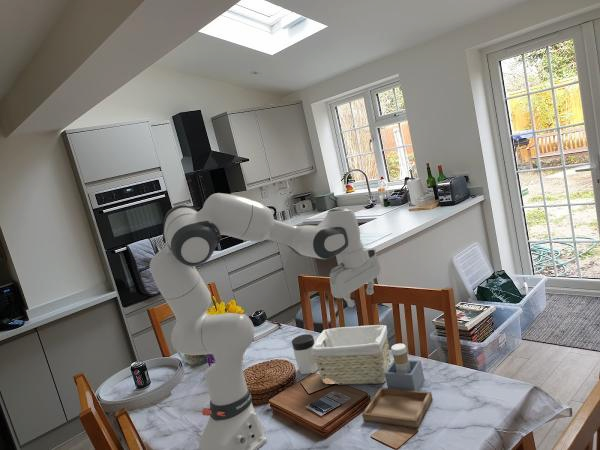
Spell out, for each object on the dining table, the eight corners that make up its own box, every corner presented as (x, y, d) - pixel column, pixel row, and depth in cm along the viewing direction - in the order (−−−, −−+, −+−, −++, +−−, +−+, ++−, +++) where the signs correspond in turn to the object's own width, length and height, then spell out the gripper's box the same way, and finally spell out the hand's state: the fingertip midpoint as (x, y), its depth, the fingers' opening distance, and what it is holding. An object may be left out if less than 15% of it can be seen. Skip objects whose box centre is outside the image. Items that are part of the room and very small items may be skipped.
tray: (417, 428, 124) (416, 420, 124) (363, 421, 133) (362, 414, 133) (432, 399, 136) (431, 392, 135) (382, 394, 145) (380, 387, 144)
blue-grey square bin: (415, 394, 140) (411, 375, 139) (388, 392, 145) (384, 373, 144) (424, 379, 147) (420, 360, 146) (398, 377, 152) (394, 359, 151)
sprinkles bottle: (405, 380, 149) (397, 341, 147) (417, 384, 146) (408, 344, 144) (396, 387, 147) (387, 348, 145) (408, 391, 143) (399, 350, 141)
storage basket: (396, 361, 163) (387, 322, 161) (388, 386, 148) (379, 343, 146) (331, 365, 172) (322, 328, 170) (319, 389, 157) (308, 348, 155)
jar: (309, 376, 167) (301, 345, 166) (294, 372, 173) (286, 342, 172) (325, 365, 173) (318, 335, 171) (310, 361, 179) (303, 332, 177)
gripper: (336, 271, 134) (347, 315, 136) (379, 247, 147) (388, 288, 150) (321, 270, 139) (331, 312, 141) (363, 247, 152) (373, 286, 154)
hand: (361, 299), depth 145 cm, fingers open, 8 cm apart
